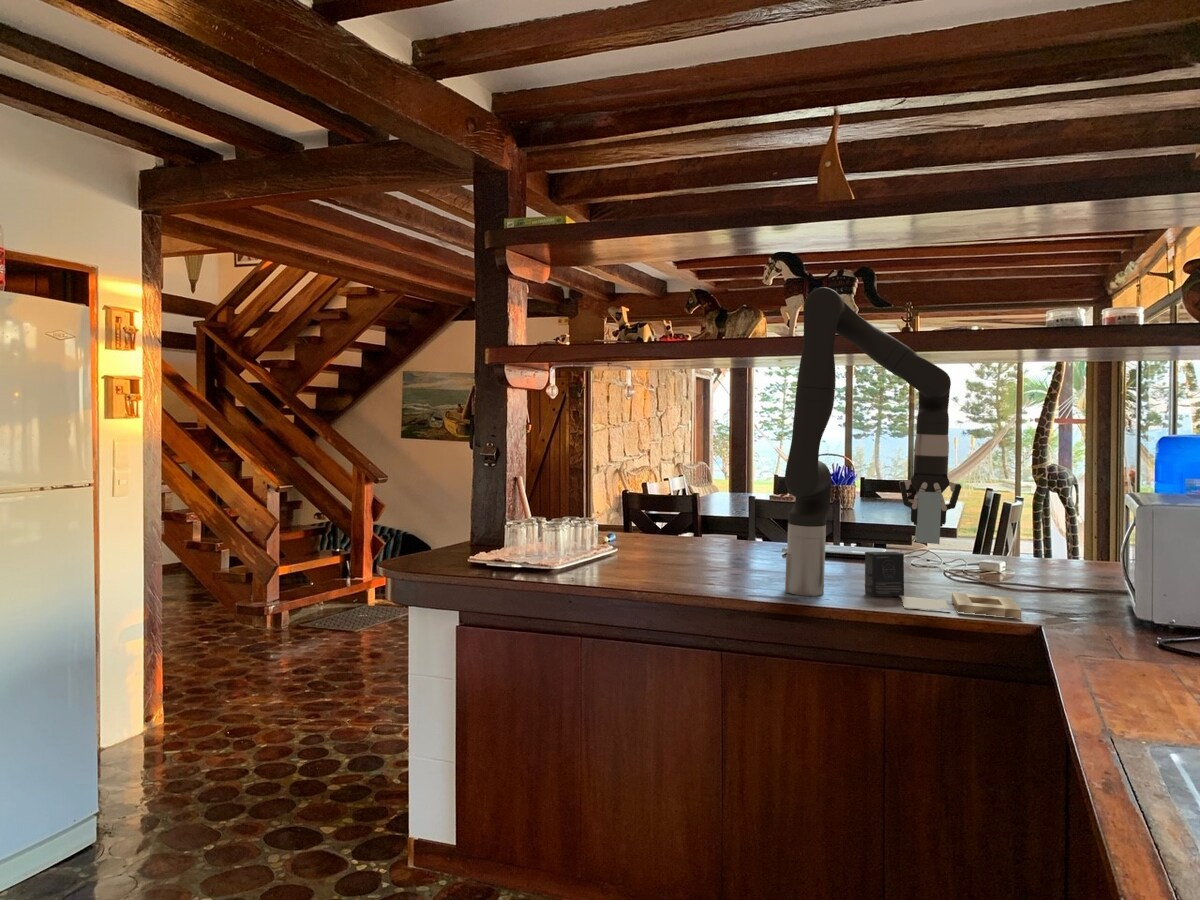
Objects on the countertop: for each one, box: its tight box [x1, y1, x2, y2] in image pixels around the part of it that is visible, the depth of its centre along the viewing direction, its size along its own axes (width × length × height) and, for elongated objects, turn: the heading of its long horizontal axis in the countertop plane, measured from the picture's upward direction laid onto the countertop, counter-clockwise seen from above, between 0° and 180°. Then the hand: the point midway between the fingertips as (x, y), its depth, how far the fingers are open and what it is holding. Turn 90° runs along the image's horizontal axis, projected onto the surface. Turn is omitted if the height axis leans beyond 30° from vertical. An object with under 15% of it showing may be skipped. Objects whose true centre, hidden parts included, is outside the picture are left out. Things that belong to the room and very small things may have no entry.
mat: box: [900, 596, 950, 610], centre depth 196 cm, size 10×12×1 cm
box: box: [864, 551, 905, 597], centre depth 205 cm, size 8×6×11 cm
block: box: [914, 491, 943, 545], centre depth 195 cm, size 5×5×12 cm
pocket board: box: [951, 592, 1022, 620], centre depth 192 cm, size 13×13×2 cm
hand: (927, 525), depth 195 cm, fingers closed on block, 5 cm apart
